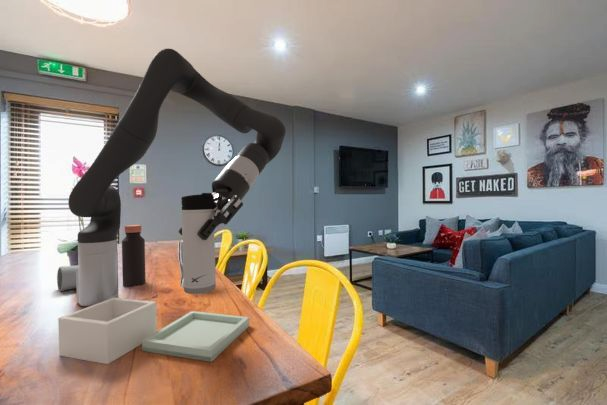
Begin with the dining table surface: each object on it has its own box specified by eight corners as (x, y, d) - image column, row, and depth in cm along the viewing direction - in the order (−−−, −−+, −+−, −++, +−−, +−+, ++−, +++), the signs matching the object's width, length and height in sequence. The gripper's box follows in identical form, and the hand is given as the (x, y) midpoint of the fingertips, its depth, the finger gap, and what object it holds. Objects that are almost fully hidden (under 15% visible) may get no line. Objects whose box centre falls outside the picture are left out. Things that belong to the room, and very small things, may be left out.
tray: (142, 350, 56) (141, 340, 56) (192, 319, 71) (191, 311, 71) (211, 361, 52) (211, 350, 52) (249, 325, 67) (249, 317, 67)
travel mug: (198, 296, 57) (195, 192, 56) (177, 291, 60) (174, 193, 60) (223, 287, 62) (220, 192, 62) (202, 283, 66) (199, 193, 65)
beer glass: (193, 288, 95) (192, 241, 95) (173, 287, 97) (173, 241, 96) (204, 282, 102) (203, 238, 102) (186, 281, 103) (185, 238, 103)
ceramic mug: (93, 287, 98) (92, 263, 98) (62, 293, 92) (61, 268, 92) (83, 282, 105) (83, 260, 105) (54, 287, 98) (53, 264, 98)
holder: (59, 355, 55) (58, 318, 55) (114, 328, 66) (113, 297, 66) (107, 364, 52) (106, 324, 52) (156, 334, 63) (156, 302, 63)
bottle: (128, 281, 104) (127, 224, 103) (148, 281, 104) (147, 224, 104) (118, 287, 97) (117, 226, 97) (140, 286, 98) (138, 226, 97)
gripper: (207, 169, 71) (160, 222, 62) (248, 165, 62) (199, 226, 53) (226, 191, 75) (184, 244, 66) (266, 190, 67) (224, 250, 58)
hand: (191, 236), depth 60 cm, fingers closed on travel mug, 6 cm apart
